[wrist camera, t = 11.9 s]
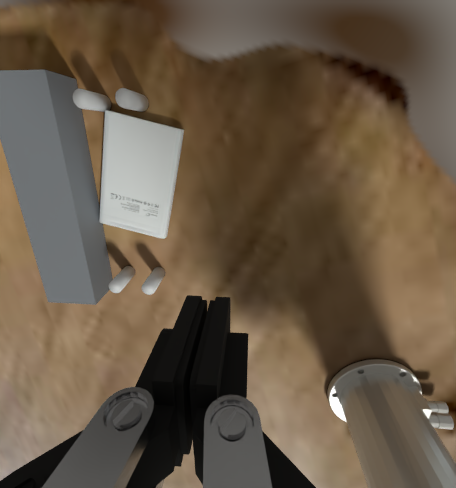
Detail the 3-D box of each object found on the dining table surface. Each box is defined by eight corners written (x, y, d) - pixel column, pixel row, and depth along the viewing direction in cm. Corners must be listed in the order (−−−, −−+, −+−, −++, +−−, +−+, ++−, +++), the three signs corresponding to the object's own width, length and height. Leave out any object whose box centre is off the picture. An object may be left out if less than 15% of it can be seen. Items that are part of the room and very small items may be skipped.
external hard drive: (185, 129, 29) (168, 235, 34) (111, 110, 29) (104, 218, 34) (182, 129, 28) (164, 239, 32) (103, 109, 28) (97, 222, 32)
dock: (146, 78, 27) (126, 68, 23) (166, 287, 36) (155, 307, 32) (20, 80, 28) (-20, 70, 24) (71, 283, 37) (48, 302, 33)
